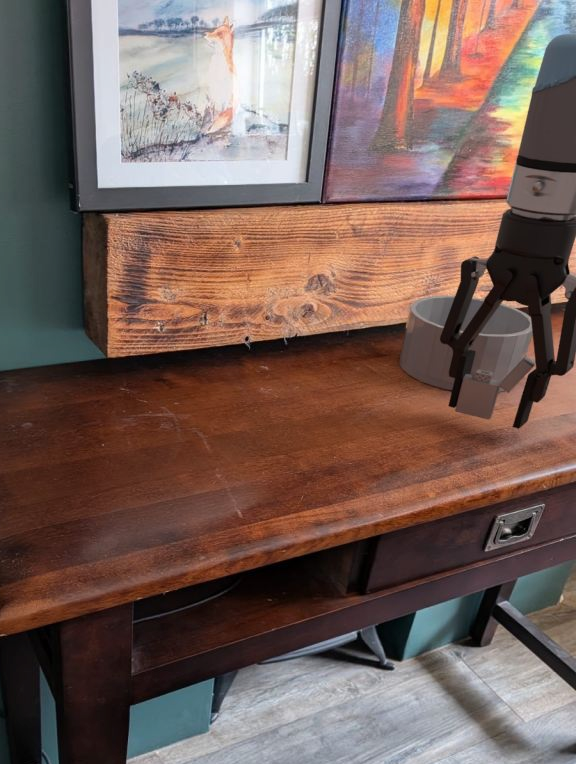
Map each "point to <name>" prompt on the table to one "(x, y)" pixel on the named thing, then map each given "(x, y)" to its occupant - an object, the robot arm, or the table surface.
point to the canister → (493, 345)
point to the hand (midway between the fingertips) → (487, 413)
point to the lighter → (488, 389)
